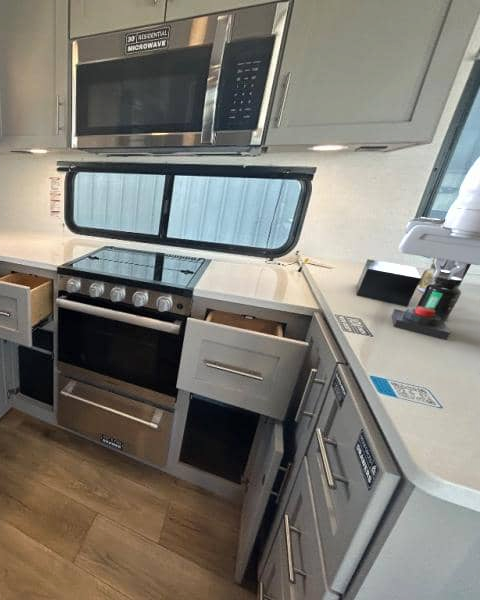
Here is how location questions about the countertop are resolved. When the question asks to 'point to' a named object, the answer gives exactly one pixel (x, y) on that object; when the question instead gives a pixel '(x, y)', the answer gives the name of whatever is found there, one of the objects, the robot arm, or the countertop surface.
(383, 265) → the bin lid
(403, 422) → the countertop surface
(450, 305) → the supplement bottle
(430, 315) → the button
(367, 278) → the bin
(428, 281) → the coffee box
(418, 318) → the control block
